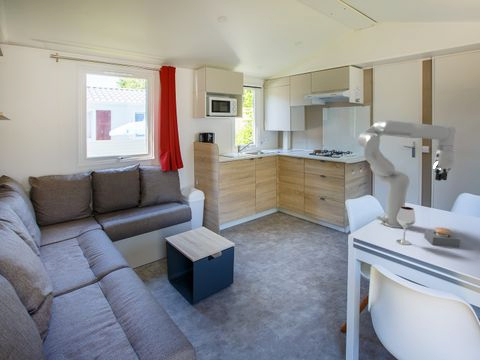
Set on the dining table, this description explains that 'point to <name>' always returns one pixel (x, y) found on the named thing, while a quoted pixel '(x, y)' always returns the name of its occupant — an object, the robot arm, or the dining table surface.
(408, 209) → the wineglass
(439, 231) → the button
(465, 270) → the dining table surface
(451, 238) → the button box
